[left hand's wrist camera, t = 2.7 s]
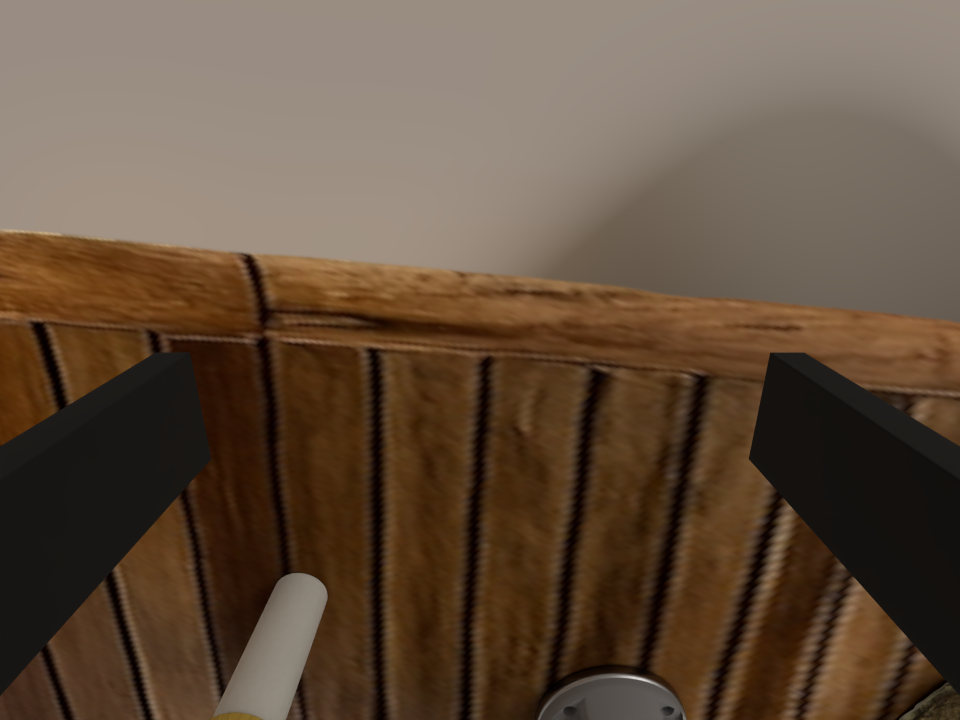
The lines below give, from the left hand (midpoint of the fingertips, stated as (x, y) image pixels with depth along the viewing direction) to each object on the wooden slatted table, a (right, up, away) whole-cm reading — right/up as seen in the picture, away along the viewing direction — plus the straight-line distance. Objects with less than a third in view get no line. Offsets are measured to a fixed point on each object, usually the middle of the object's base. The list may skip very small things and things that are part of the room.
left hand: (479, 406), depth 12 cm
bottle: (-17, -21, +38) cm, 46 cm away
